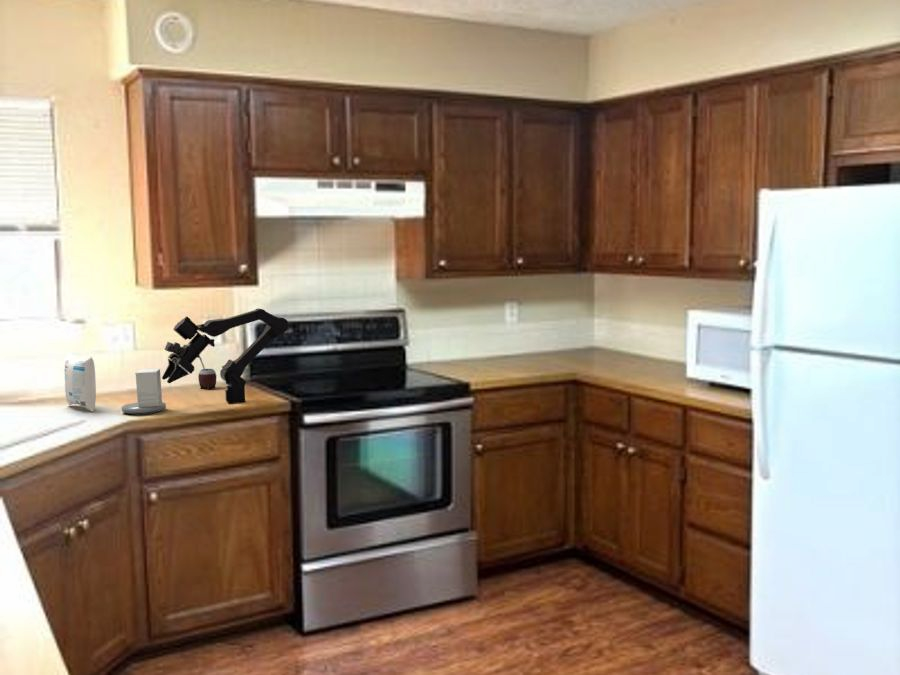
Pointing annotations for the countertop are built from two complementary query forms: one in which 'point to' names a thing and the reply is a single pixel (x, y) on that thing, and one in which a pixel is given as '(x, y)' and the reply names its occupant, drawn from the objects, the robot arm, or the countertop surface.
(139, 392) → the supplement box
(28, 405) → the countertop surface
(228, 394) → the robot arm
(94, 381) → the pouch
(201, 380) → the mate gourd
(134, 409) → the dish
